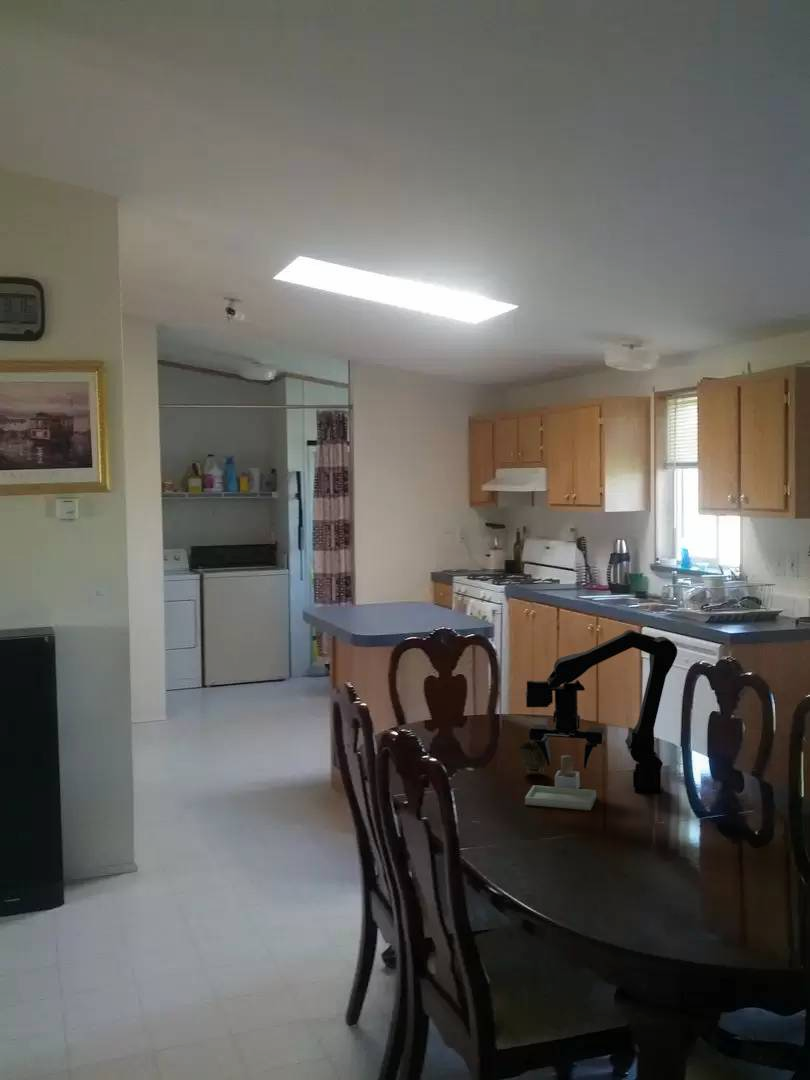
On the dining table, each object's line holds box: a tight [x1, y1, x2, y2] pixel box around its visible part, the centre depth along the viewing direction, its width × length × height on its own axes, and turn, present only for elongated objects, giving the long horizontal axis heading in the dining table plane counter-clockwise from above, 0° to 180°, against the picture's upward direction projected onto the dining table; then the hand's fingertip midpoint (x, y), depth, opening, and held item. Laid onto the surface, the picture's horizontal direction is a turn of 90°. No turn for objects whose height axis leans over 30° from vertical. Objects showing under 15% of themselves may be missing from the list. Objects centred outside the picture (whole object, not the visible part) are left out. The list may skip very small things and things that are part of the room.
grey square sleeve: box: [554, 769, 581, 789], centre depth 241 cm, size 6×6×4 cm
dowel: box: [560, 754, 574, 777], centre depth 241 cm, size 3×3×8 cm
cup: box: [519, 741, 546, 776], centre depth 255 cm, size 8×7×8 cm
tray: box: [524, 785, 597, 811], centre depth 232 cm, size 16×10×2 cm, turn 71°
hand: (567, 766), depth 241 cm, fingers open, 9 cm apart
